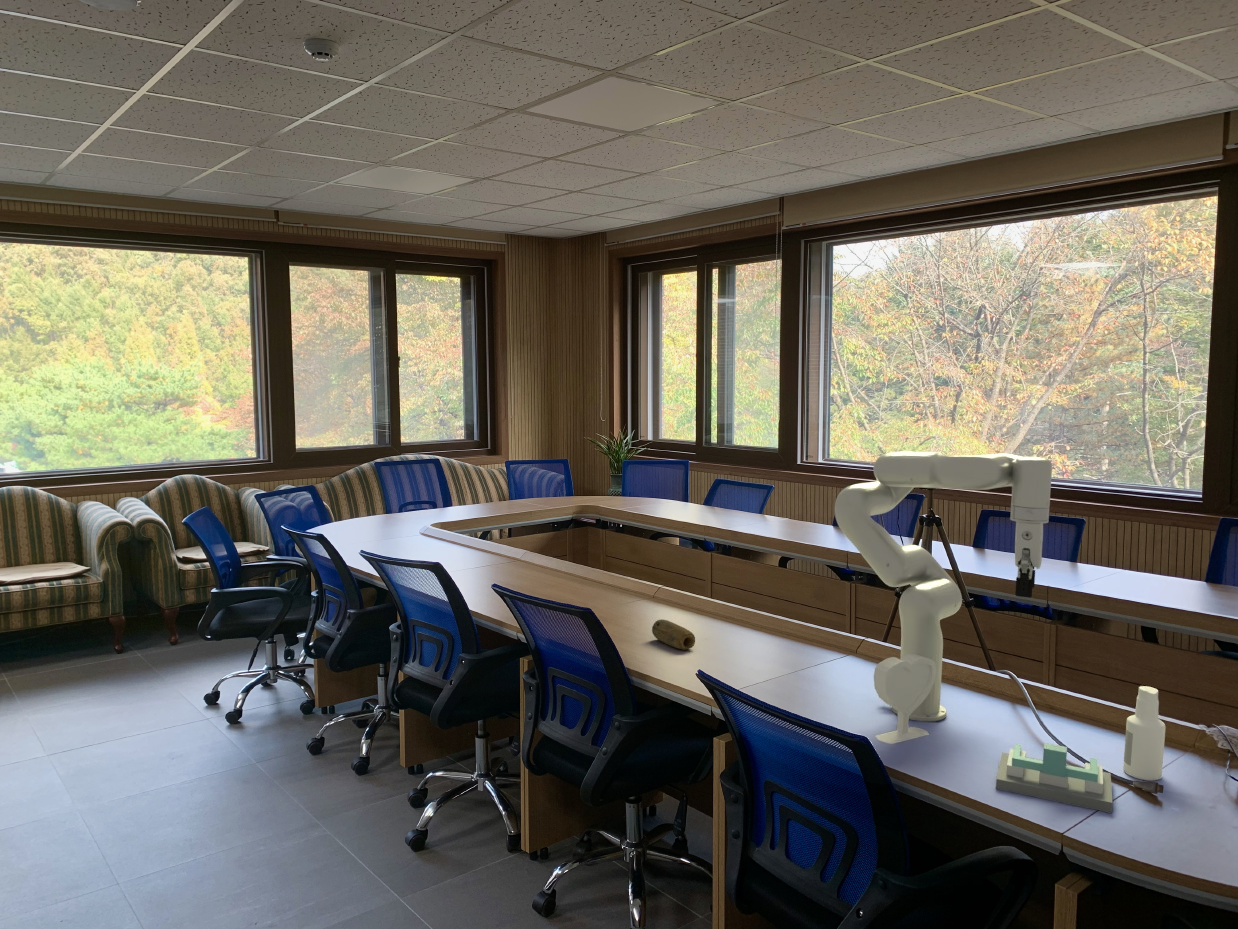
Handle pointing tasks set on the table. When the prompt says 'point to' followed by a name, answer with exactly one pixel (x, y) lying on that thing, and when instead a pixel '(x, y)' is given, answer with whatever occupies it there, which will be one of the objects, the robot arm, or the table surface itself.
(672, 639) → the stone weight
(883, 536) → the robot arm
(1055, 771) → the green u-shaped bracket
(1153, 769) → the white bottle
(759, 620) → the table surface
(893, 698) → the heart sculpture
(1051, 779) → the stand
